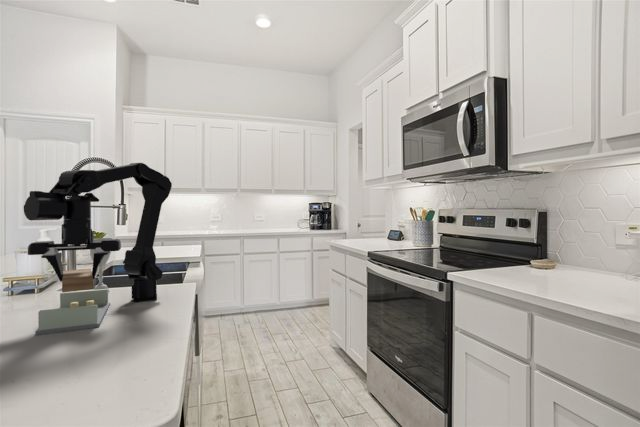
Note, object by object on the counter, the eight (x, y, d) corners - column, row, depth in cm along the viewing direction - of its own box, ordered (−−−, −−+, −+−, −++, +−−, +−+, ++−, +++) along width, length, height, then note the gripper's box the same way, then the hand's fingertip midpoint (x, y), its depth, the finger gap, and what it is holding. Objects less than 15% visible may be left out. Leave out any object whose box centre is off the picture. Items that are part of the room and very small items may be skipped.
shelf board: (92, 289, 83) (92, 276, 82) (62, 292, 79) (62, 279, 79) (91, 279, 94) (91, 268, 94) (64, 282, 90) (64, 270, 90)
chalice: (96, 289, 117) (96, 238, 117) (116, 289, 118) (116, 238, 118) (83, 294, 110) (83, 240, 110) (105, 294, 111) (105, 239, 110)
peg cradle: (110, 305, 98) (110, 288, 98) (99, 326, 80) (99, 305, 80) (59, 310, 93) (59, 292, 93) (35, 334, 75) (35, 312, 75)
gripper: (122, 218, 98) (122, 271, 98) (41, 219, 89) (42, 277, 90) (118, 219, 87) (118, 279, 88) (26, 220, 79) (27, 286, 80)
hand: (77, 280), depth 86 cm, fingers closed on shelf board, 6 cm apart
